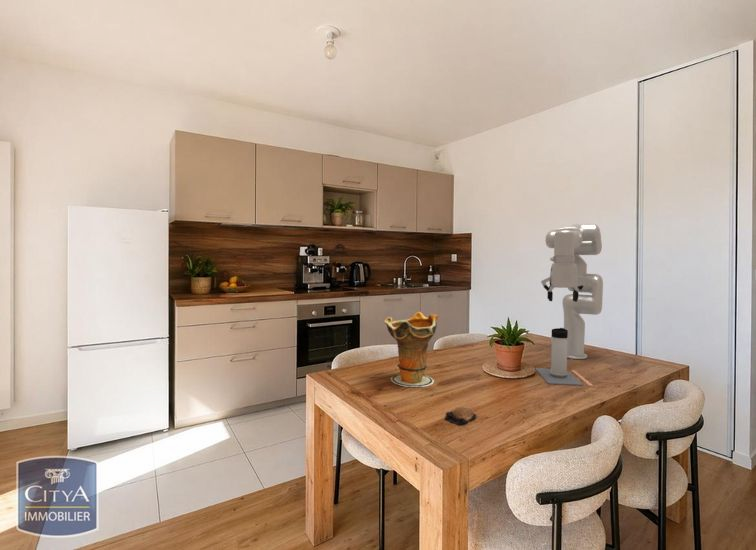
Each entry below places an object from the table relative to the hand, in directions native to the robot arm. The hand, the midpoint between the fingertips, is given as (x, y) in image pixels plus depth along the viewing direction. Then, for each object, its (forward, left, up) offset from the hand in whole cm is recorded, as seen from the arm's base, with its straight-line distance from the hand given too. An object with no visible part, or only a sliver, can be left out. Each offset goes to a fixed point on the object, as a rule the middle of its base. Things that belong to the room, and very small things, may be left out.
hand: (562, 301), depth 161 cm
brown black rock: (+48, -45, -33) cm, 73 cm away
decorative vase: (+14, -62, -33) cm, 71 cm away
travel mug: (+1, -1, -32) cm, 32 cm away
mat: (+1, -1, -32) cm, 32 cm away
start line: (+1, +8, -32) cm, 33 cm away
